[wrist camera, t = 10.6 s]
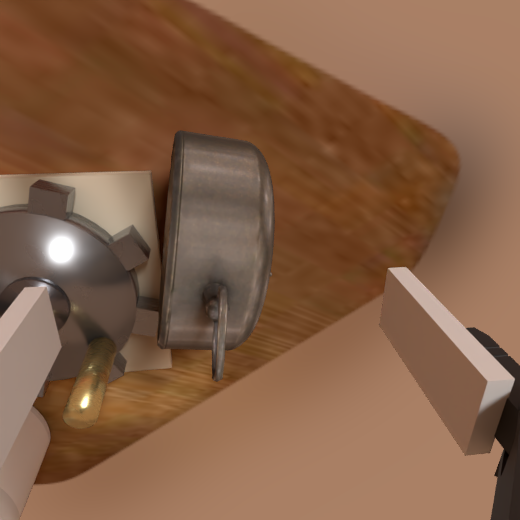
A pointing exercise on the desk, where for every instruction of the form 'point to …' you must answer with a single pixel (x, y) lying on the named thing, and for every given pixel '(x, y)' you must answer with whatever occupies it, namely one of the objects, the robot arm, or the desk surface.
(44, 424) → the eye dropper bottle
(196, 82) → the desk surface
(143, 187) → the plate
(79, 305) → the sprocket
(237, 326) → the alarm clock
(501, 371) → the robot arm
